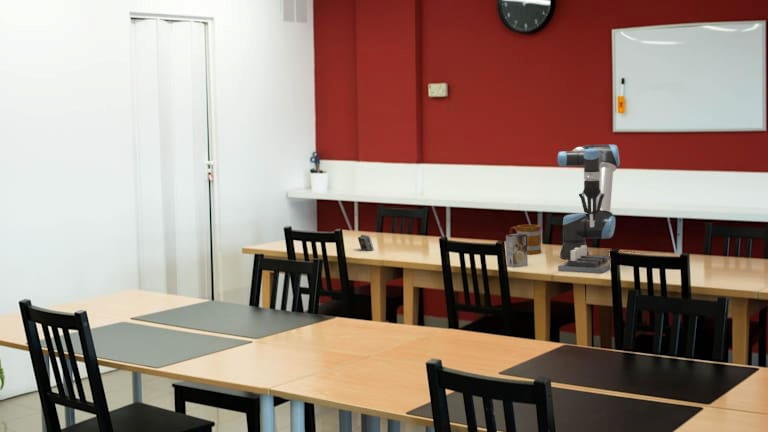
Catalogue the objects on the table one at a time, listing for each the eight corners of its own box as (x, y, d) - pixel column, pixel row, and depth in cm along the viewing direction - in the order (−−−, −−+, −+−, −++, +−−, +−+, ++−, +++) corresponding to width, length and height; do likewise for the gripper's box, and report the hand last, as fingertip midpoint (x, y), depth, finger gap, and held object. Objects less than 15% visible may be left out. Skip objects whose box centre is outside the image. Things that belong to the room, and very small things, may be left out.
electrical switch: (374, 250, 588) (372, 234, 586) (366, 252, 585) (364, 236, 583) (366, 248, 596) (364, 233, 594) (358, 250, 593) (356, 235, 592)
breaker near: (572, 259, 508) (572, 249, 507) (577, 260, 507) (577, 250, 506) (570, 260, 505) (570, 250, 504) (575, 261, 504) (575, 251, 503)
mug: (546, 252, 563) (546, 225, 562) (531, 255, 554) (531, 228, 552) (517, 249, 577) (517, 223, 576) (502, 252, 568) (502, 225, 566)
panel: (574, 262, 528) (574, 254, 527) (616, 264, 517) (616, 256, 517) (558, 271, 505) (558, 262, 504) (601, 273, 495) (601, 264, 494)
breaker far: (582, 255, 522) (582, 245, 521) (586, 255, 520) (586, 245, 520) (580, 255, 519) (580, 246, 518) (585, 256, 518) (585, 246, 517)
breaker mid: (576, 257, 515) (576, 247, 514) (580, 257, 514) (580, 247, 513) (574, 258, 512) (574, 248, 512) (579, 258, 511) (579, 248, 511)
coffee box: (520, 263, 530) (520, 232, 528) (527, 265, 524) (527, 234, 522) (505, 265, 525) (505, 234, 523) (513, 267, 520) (512, 235, 518)
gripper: (576, 180, 509) (577, 227, 513) (602, 181, 503) (602, 228, 506) (581, 178, 516) (581, 225, 519) (606, 179, 509) (607, 226, 513)
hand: (592, 226), depth 513 cm, fingers closed
